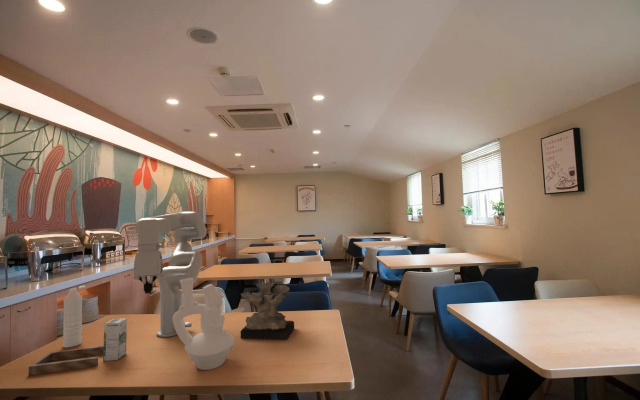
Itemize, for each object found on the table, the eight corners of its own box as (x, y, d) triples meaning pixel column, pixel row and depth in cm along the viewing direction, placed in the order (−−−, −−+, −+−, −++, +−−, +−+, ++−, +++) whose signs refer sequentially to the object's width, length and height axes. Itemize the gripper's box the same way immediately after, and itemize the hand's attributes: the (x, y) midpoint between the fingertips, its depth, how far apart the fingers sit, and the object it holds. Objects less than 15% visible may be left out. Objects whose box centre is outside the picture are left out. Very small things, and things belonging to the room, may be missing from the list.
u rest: (110, 352, 125) (110, 344, 125) (96, 366, 113) (96, 357, 113) (49, 359, 120) (50, 352, 120) (28, 375, 108) (28, 366, 108)
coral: (233, 338, 136) (232, 290, 137) (251, 322, 155) (251, 280, 157) (286, 341, 131) (284, 291, 132) (298, 324, 151) (297, 281, 152)
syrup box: (111, 354, 123) (112, 318, 124) (126, 353, 123) (127, 317, 124) (102, 361, 117) (103, 323, 118) (118, 360, 118) (119, 322, 118)
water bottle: (71, 348, 131) (72, 290, 132) (58, 347, 132) (60, 289, 133) (90, 340, 139) (90, 285, 141) (78, 339, 140) (79, 285, 142)
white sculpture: (230, 374, 104) (228, 280, 106) (164, 379, 102) (164, 284, 104) (238, 351, 122) (237, 271, 124) (183, 355, 119) (182, 274, 121)
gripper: (170, 246, 131) (170, 289, 130) (131, 248, 127) (131, 292, 126) (165, 247, 124) (165, 293, 123) (124, 250, 120) (124, 296, 119)
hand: (148, 292), depth 124 cm, fingers closed
